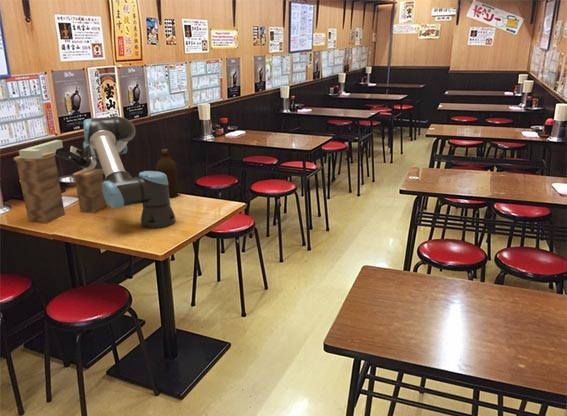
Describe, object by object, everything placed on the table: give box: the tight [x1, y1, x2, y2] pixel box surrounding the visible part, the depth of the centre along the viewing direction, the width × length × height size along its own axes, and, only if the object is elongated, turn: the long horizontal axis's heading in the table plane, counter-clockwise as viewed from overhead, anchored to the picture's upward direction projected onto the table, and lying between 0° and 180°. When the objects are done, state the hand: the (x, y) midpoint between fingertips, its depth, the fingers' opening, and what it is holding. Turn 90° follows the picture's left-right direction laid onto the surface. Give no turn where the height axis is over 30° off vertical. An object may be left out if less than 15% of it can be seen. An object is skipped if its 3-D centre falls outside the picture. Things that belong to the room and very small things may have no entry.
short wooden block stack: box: [72, 168, 108, 213], centre depth 223 cm, size 9×11×19 cm
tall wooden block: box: [13, 152, 66, 224], centre depth 209 cm, size 11×13×30 cm
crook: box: [18, 139, 64, 159], centre depth 208 cm, size 24×8×3 cm, turn 168°
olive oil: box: [155, 148, 179, 199], centre depth 241 cm, size 11×11×25 cm
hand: (58, 148), depth 220 cm, fingers open, 13 cm apart
